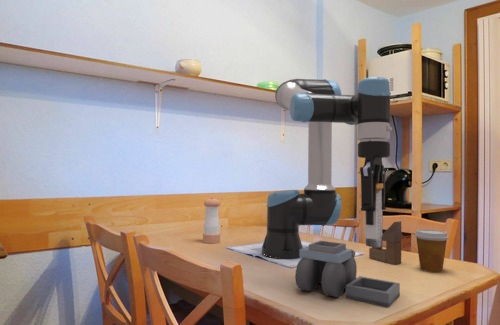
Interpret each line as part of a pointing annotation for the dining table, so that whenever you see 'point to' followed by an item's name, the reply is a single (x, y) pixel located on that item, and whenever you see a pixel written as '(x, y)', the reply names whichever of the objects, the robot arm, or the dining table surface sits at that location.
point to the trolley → (325, 267)
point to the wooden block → (389, 245)
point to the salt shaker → (211, 221)
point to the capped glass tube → (379, 219)
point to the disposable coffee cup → (431, 249)
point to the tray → (373, 291)
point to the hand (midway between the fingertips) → (373, 237)
